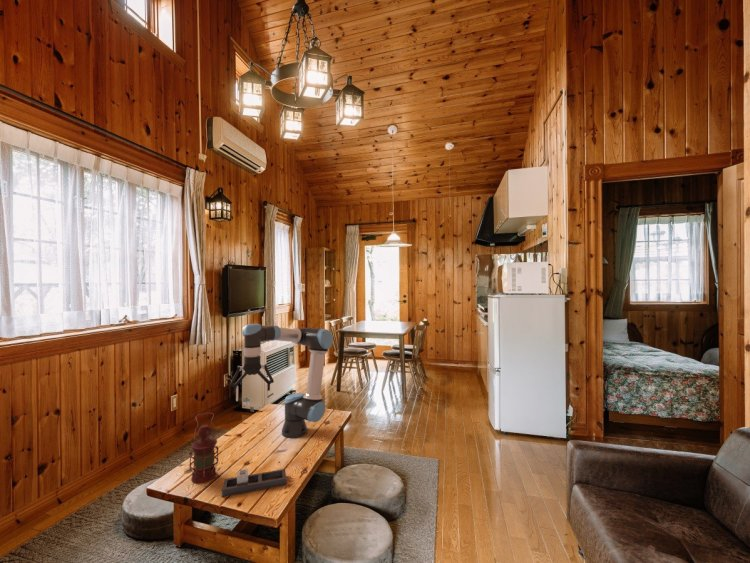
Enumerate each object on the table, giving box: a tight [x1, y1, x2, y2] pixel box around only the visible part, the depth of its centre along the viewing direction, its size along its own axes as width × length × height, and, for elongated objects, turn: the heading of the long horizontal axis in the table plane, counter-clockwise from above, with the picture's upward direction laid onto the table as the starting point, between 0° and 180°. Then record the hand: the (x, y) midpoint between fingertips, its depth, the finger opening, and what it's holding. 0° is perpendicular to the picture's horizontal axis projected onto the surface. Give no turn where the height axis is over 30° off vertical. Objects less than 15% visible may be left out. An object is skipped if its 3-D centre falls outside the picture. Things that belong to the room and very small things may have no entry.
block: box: [236, 468, 249, 486], centre depth 147 cm, size 4×4×7 cm
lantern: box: [189, 412, 219, 484], centre depth 156 cm, size 12×12×30 cm
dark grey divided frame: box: [221, 468, 287, 498], centre depth 149 cm, size 26×8×3 cm, turn 109°
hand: (252, 398), depth 162 cm, fingers open, 13 cm apart
